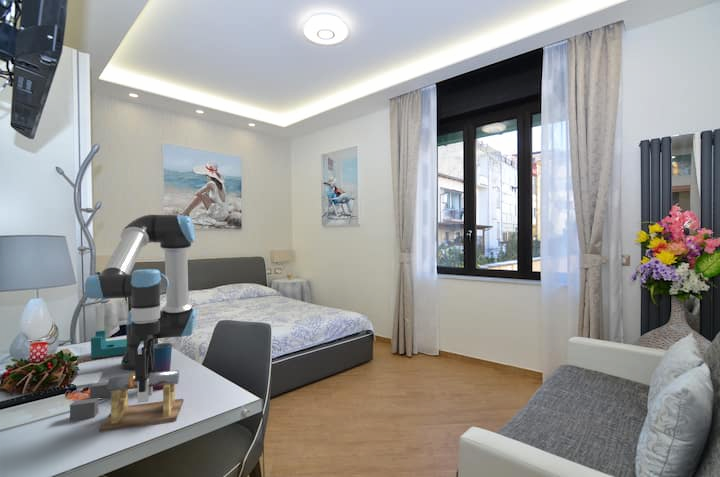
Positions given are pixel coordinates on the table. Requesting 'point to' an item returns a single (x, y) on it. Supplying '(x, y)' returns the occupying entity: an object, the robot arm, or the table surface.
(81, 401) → the grey blocks
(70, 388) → the table surface
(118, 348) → the teal l-shaped bracket
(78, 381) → the hard drive
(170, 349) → the cup
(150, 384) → the brushed aluminium bar
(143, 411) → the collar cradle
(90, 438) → the table surface
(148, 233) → the robot arm
